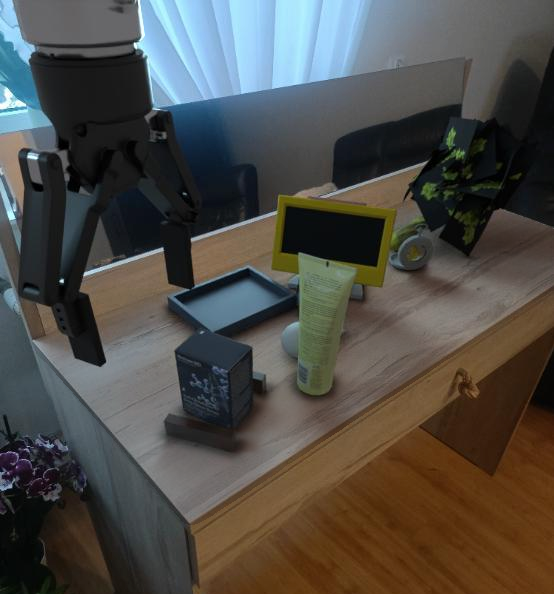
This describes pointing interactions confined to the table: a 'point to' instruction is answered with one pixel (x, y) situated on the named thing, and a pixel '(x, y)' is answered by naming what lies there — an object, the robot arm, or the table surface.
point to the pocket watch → (413, 252)
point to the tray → (232, 301)
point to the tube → (321, 320)
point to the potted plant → (467, 181)
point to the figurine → (292, 339)
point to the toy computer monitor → (333, 237)
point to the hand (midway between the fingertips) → (140, 319)
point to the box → (215, 378)
